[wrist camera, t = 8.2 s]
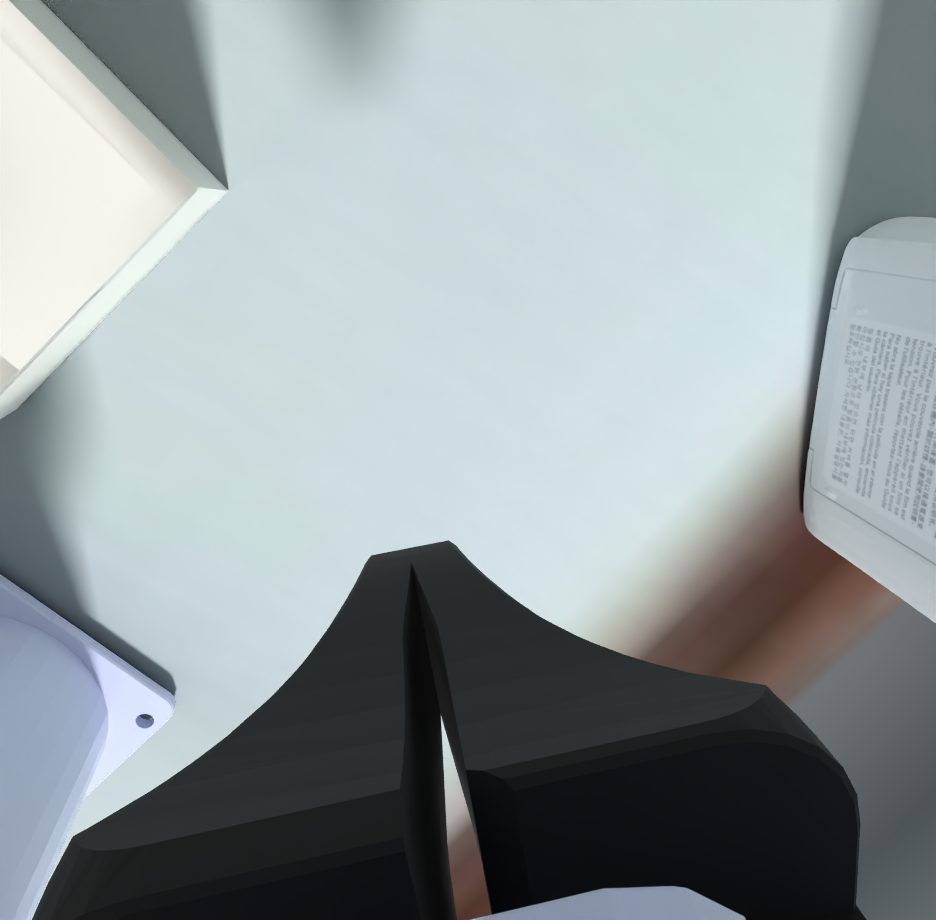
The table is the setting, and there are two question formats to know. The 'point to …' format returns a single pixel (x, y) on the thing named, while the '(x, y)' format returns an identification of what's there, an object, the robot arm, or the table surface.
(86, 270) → the white square block
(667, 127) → the table surface
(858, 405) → the white rounded slab
